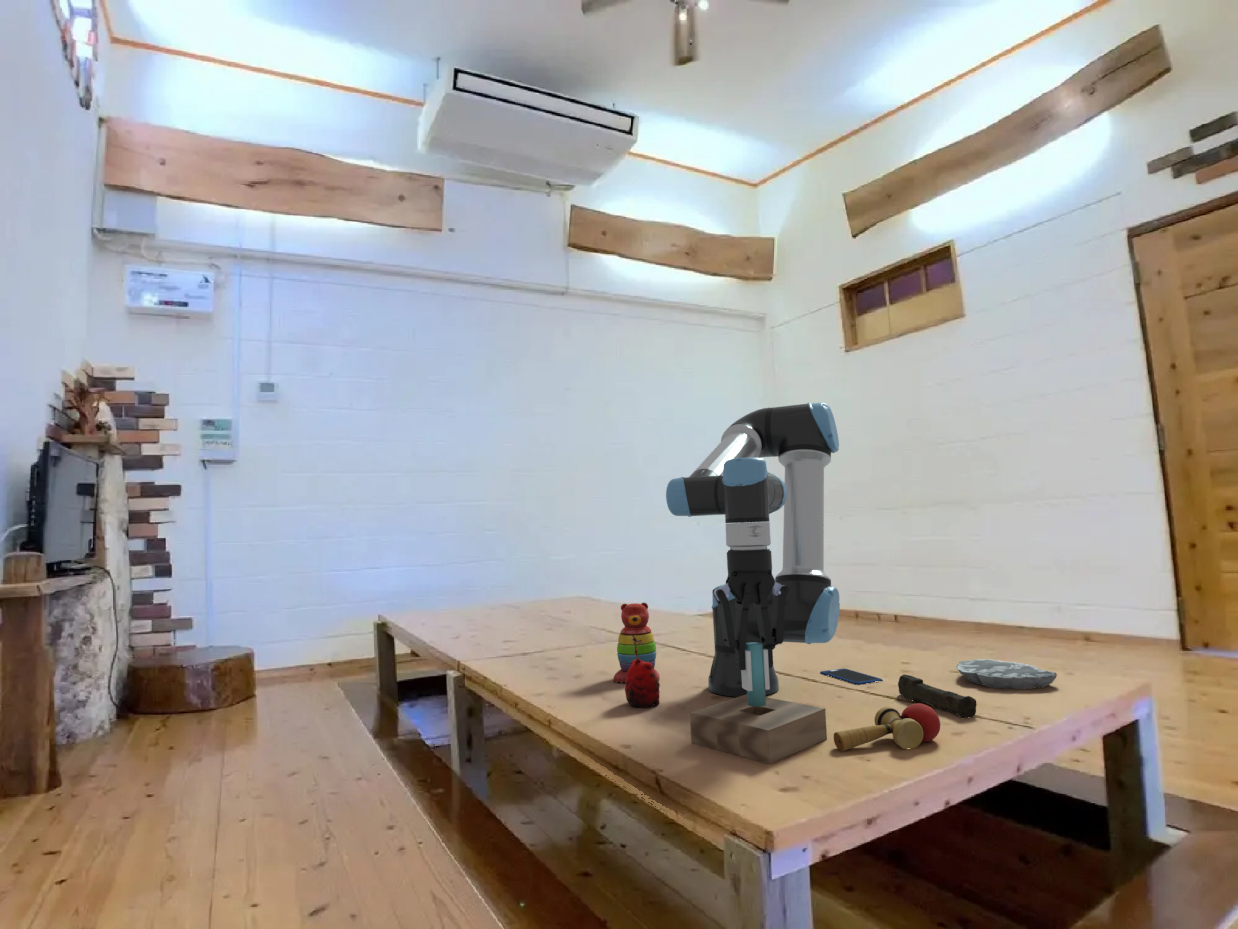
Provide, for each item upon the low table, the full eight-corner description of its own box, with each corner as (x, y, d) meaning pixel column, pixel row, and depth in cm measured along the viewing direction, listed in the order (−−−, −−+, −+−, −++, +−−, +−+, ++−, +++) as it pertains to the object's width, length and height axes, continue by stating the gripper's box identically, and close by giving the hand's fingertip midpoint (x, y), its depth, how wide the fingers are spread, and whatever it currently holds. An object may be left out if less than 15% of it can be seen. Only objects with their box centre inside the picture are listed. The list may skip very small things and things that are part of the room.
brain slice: (935, 679, 158) (934, 665, 159) (989, 670, 165) (988, 657, 165) (1015, 698, 141) (1013, 682, 141) (1072, 687, 147) (1071, 672, 147)
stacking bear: (612, 683, 165) (609, 606, 167) (618, 674, 175) (615, 601, 177) (658, 683, 164) (655, 605, 165) (661, 673, 174) (658, 600, 175)
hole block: (691, 742, 120) (689, 712, 120) (749, 721, 131) (748, 693, 131) (770, 764, 108) (768, 730, 108) (827, 739, 119) (825, 708, 119)
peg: (744, 704, 120) (741, 644, 120) (754, 701, 122) (751, 641, 123) (758, 707, 117) (755, 646, 118) (769, 704, 119) (766, 643, 120)
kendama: (857, 769, 109) (957, 739, 113) (845, 726, 110) (944, 698, 114) (833, 762, 116) (927, 734, 120) (822, 722, 117) (916, 696, 122)
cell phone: (844, 671, 170) (844, 668, 170) (884, 683, 157) (884, 679, 157) (818, 674, 168) (818, 671, 168) (857, 686, 155) (857, 683, 155)
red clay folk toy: (667, 703, 146) (664, 629, 147) (645, 711, 140) (642, 634, 141) (639, 698, 151) (636, 626, 152) (617, 706, 145) (614, 631, 147)
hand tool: (979, 718, 128) (977, 692, 128) (960, 720, 127) (958, 694, 127) (911, 694, 146) (910, 671, 147) (894, 696, 145) (893, 673, 146)
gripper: (713, 550, 116) (720, 697, 114) (800, 546, 120) (808, 689, 118) (698, 549, 124) (704, 687, 122) (780, 545, 127) (788, 680, 125)
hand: (755, 688), depth 120 cm, fingers closed on peg, 2 cm apart
